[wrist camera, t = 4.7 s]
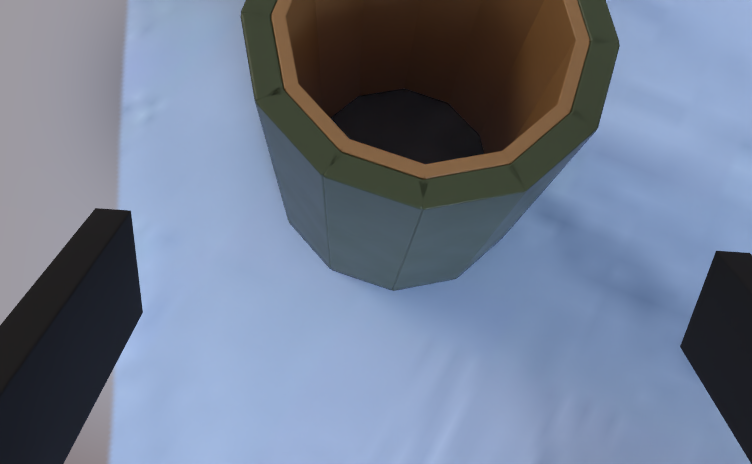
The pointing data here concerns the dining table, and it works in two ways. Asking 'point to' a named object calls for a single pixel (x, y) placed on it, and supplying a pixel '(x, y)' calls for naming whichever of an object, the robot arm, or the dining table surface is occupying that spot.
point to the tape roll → (436, 80)
